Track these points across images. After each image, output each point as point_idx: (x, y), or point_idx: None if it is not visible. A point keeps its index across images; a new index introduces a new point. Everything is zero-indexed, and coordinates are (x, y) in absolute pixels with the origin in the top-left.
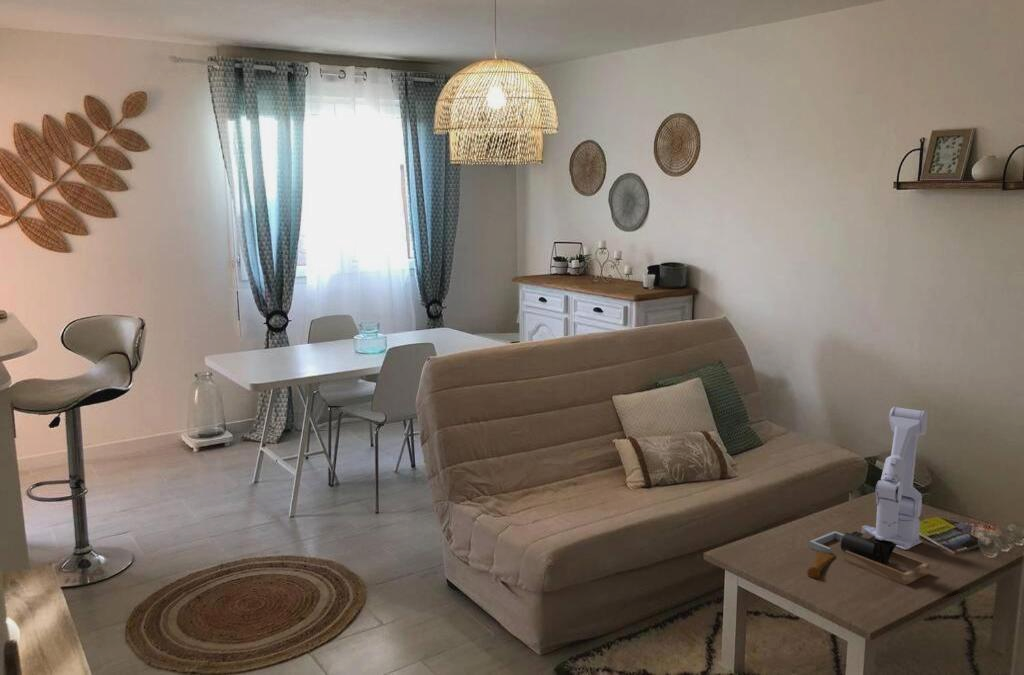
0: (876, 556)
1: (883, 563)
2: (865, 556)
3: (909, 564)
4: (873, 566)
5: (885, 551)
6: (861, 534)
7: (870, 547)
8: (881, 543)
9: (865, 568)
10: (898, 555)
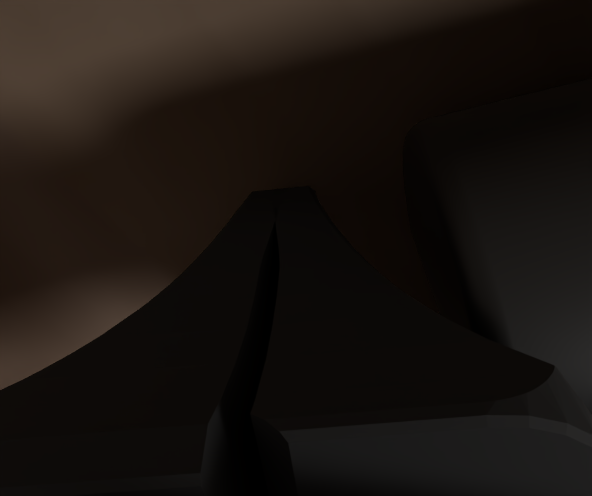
0: (421, 245)
1: (253, 195)
2: (566, 86)
3: None
4: None
5: (139, 328)
6: None
7: (572, 230)
8: (155, 479)
9: None
10: None
